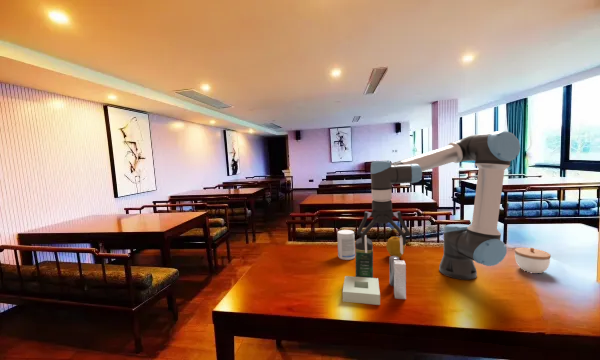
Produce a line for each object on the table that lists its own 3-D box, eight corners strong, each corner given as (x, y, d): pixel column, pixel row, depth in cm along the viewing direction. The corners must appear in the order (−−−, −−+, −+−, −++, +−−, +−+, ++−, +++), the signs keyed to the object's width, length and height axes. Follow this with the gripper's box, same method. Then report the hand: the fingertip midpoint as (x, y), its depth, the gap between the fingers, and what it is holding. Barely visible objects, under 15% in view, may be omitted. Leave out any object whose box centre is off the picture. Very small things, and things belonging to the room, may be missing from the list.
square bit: (404, 294, 106) (404, 260, 105) (405, 299, 102) (405, 264, 101) (394, 293, 107) (393, 260, 106) (395, 298, 103) (394, 263, 102)
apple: (384, 253, 151) (384, 234, 150) (402, 254, 150) (402, 234, 149) (388, 260, 142) (388, 239, 141) (406, 260, 140) (406, 239, 139)
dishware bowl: (548, 279, 114) (549, 254, 113) (511, 270, 124) (512, 248, 123) (551, 270, 122) (552, 247, 122) (517, 263, 132) (517, 242, 131)
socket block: (378, 287, 112) (378, 278, 112) (380, 305, 99) (380, 294, 98) (345, 284, 116) (345, 275, 115) (342, 301, 102) (342, 291, 102)
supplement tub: (358, 256, 148) (358, 231, 147) (348, 261, 141) (348, 235, 140) (344, 253, 155) (343, 228, 154) (334, 257, 148) (333, 232, 147)
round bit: (398, 282, 116) (398, 256, 115) (399, 286, 112) (399, 259, 111) (389, 281, 117) (389, 255, 116) (390, 286, 113) (389, 259, 112)
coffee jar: (373, 284, 115) (373, 243, 114) (355, 282, 117) (354, 242, 116) (372, 274, 125) (372, 236, 123) (356, 273, 127) (355, 236, 125)
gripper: (414, 197, 103) (415, 249, 105) (350, 198, 110) (352, 248, 111) (417, 200, 96) (419, 256, 98) (349, 201, 102) (351, 254, 104)
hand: (383, 252), depth 105 cm, fingers open, 13 cm apart
